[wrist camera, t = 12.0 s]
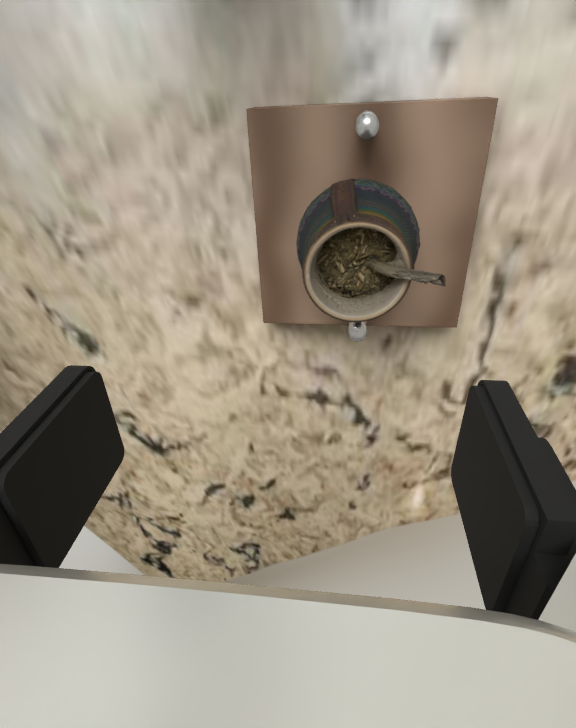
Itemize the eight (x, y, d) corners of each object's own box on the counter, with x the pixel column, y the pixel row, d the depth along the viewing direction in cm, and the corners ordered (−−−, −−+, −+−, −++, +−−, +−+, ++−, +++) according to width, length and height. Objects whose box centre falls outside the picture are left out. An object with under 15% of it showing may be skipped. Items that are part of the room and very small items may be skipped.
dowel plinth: (269, 308, 35) (255, 342, 31) (254, 107, 28) (234, 112, 23) (450, 312, 34) (464, 348, 29) (487, 97, 26) (514, 100, 21)
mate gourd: (285, 193, 28) (254, 240, 20) (405, 149, 26) (426, 181, 18) (320, 293, 31) (306, 369, 23) (429, 262, 29) (457, 334, 21)
